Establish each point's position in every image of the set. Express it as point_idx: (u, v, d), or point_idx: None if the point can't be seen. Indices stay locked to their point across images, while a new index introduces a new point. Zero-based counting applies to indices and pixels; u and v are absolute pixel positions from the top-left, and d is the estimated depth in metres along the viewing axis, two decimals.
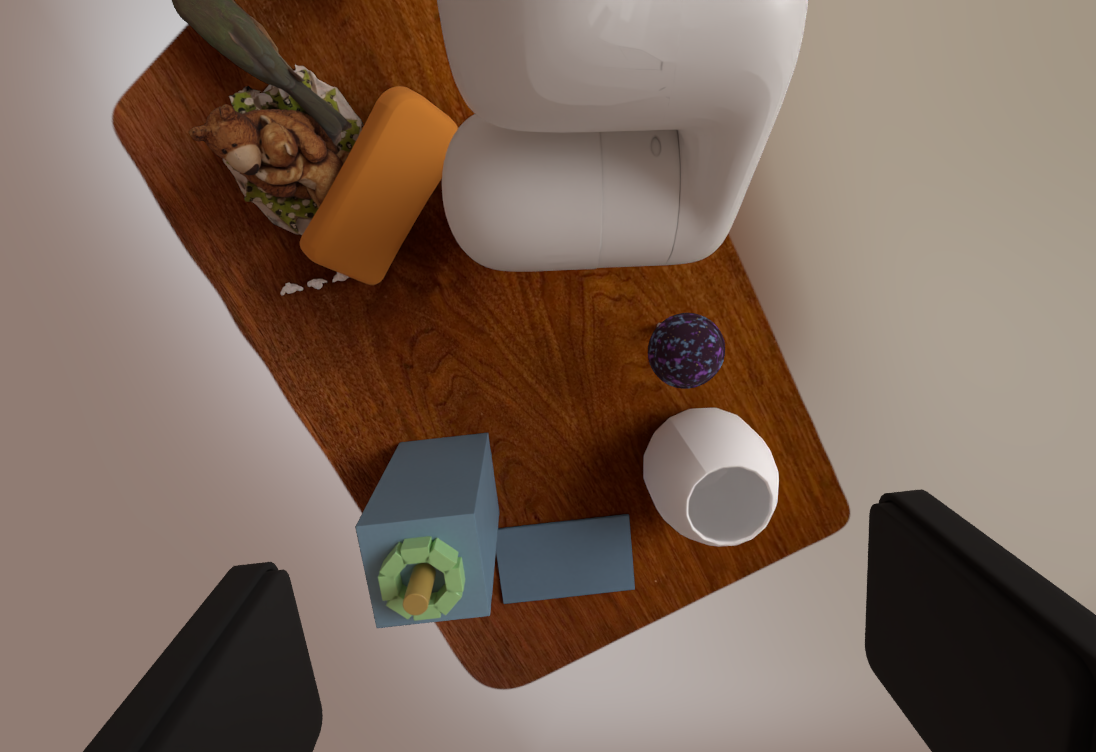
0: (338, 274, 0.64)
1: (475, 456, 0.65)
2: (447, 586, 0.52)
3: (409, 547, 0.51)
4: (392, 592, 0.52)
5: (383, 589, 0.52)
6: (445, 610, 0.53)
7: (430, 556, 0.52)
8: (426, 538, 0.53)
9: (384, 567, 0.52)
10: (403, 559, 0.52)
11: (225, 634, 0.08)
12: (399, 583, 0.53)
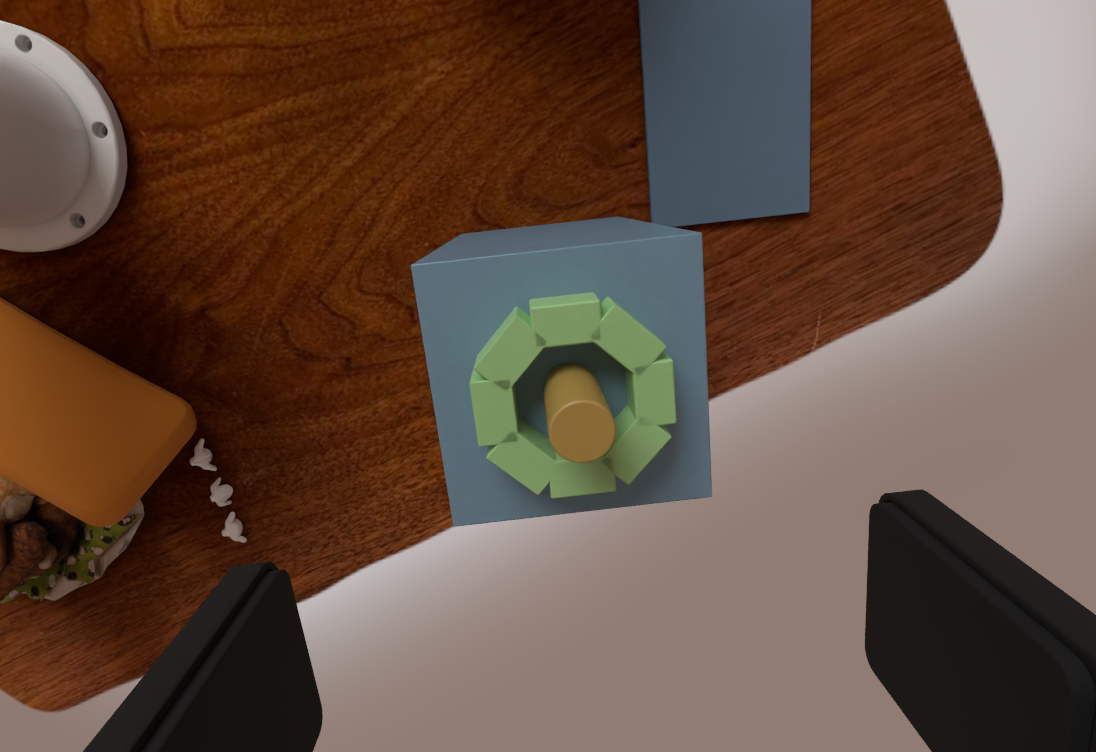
0: (194, 463, 0.42)
1: None
2: (581, 339, 0.21)
3: (475, 424, 0.21)
4: (593, 468, 0.22)
5: (584, 488, 0.22)
6: (651, 347, 0.21)
7: (495, 378, 0.21)
8: None
9: (525, 483, 0.22)
10: (504, 440, 0.21)
11: (225, 634, 0.08)
12: None
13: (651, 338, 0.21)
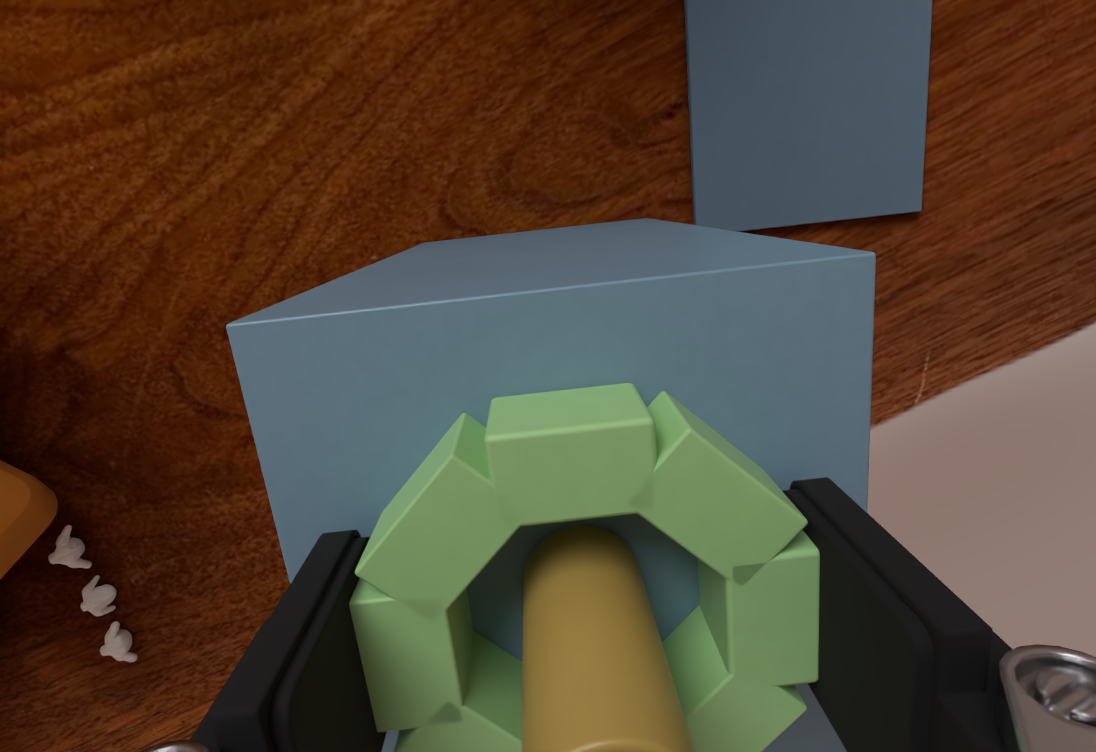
0: (54, 561, 0.30)
1: None
2: (609, 509, 0.09)
3: (368, 682, 0.10)
4: None
5: None
6: (773, 524, 0.09)
7: (406, 593, 0.09)
8: None
9: None
10: (432, 719, 0.09)
11: (330, 590, 0.09)
12: None
13: (774, 505, 0.09)
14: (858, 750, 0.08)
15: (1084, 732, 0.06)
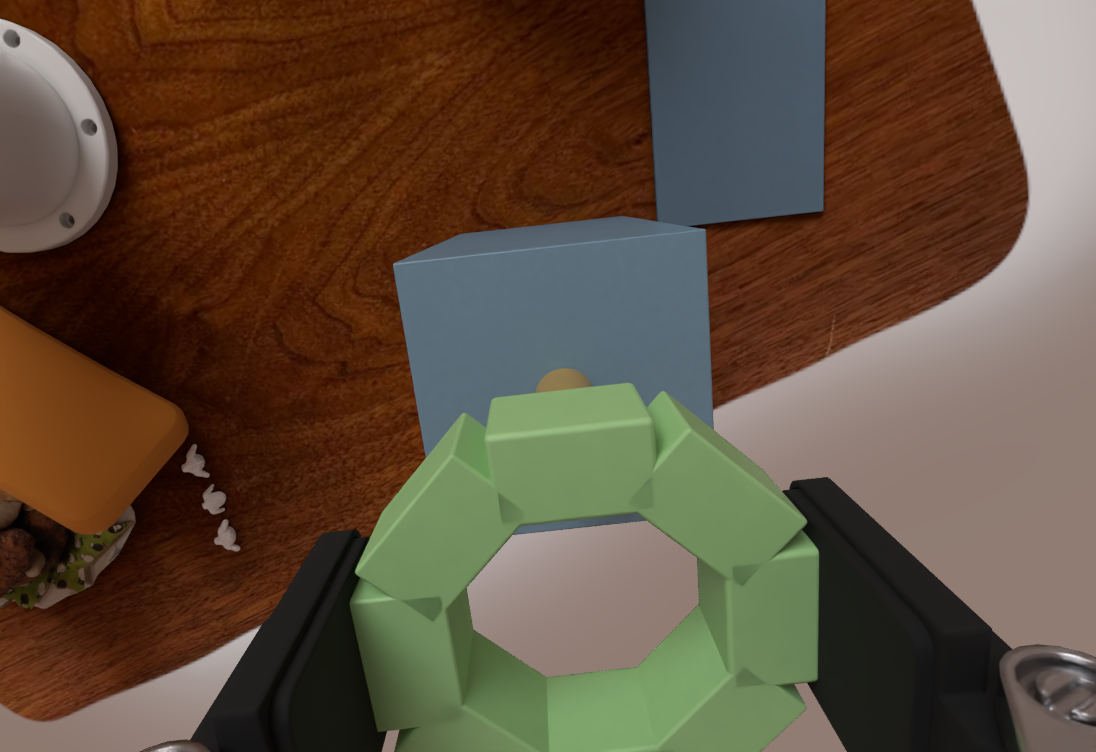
0: (185, 469, 0.40)
1: None
2: (609, 508, 0.09)
3: (368, 682, 0.10)
4: None
5: None
6: (773, 523, 0.09)
7: (406, 593, 0.09)
8: None
9: None
10: (432, 718, 0.10)
11: (330, 590, 0.09)
12: (614, 702, 0.11)
13: (773, 504, 0.09)
14: (858, 750, 0.08)
15: (1084, 731, 0.06)
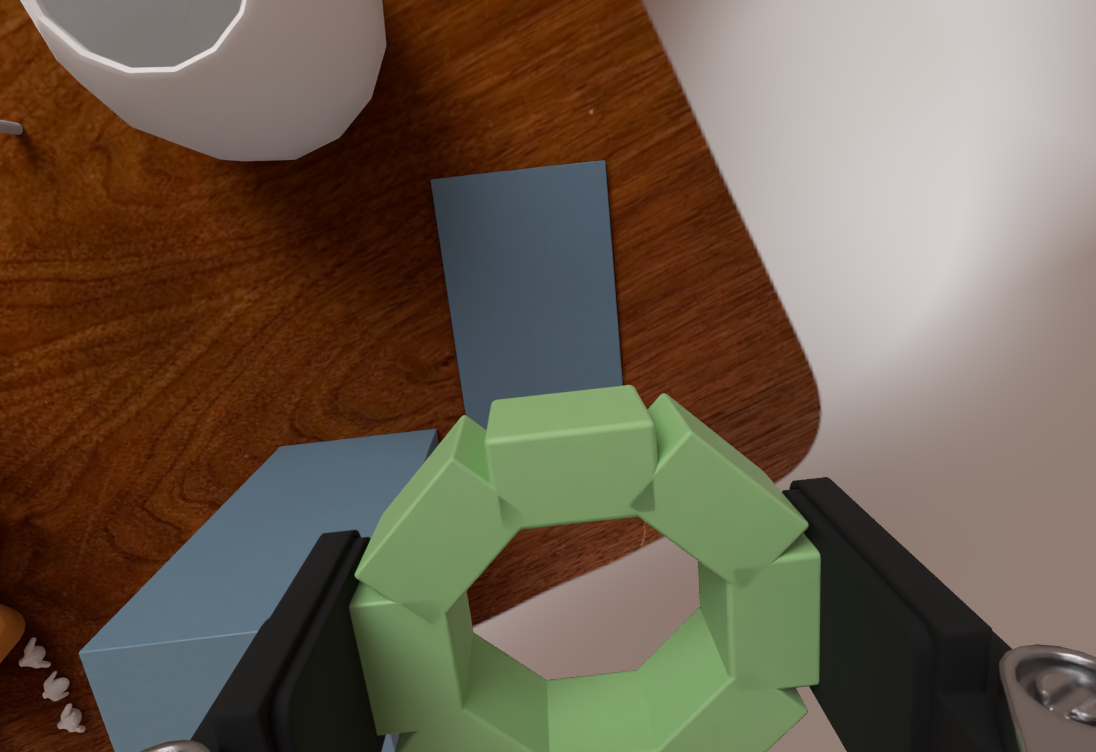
0: (23, 665, 0.42)
1: None
2: (609, 512, 0.09)
3: (368, 686, 0.09)
4: None
5: None
6: (774, 526, 0.09)
7: (406, 596, 0.09)
8: None
9: None
10: (432, 723, 0.09)
11: (330, 590, 0.09)
12: (615, 705, 0.11)
13: (775, 508, 0.09)
14: (858, 750, 0.08)
15: (1084, 732, 0.06)
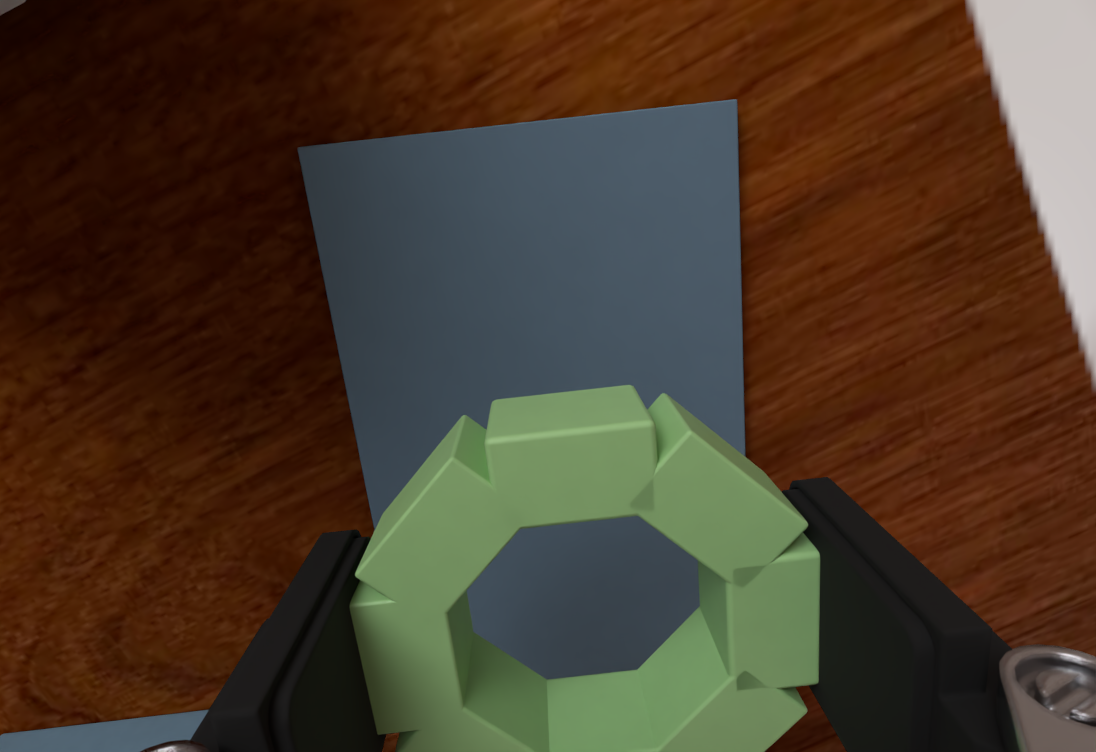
0: None
1: None
2: (609, 511, 0.09)
3: (368, 685, 0.10)
4: None
5: None
6: (774, 526, 0.09)
7: (406, 595, 0.09)
8: None
9: None
10: (432, 721, 0.09)
11: (329, 590, 0.09)
12: (615, 704, 0.11)
13: (774, 507, 0.09)
14: (858, 750, 0.08)
15: (1084, 731, 0.06)
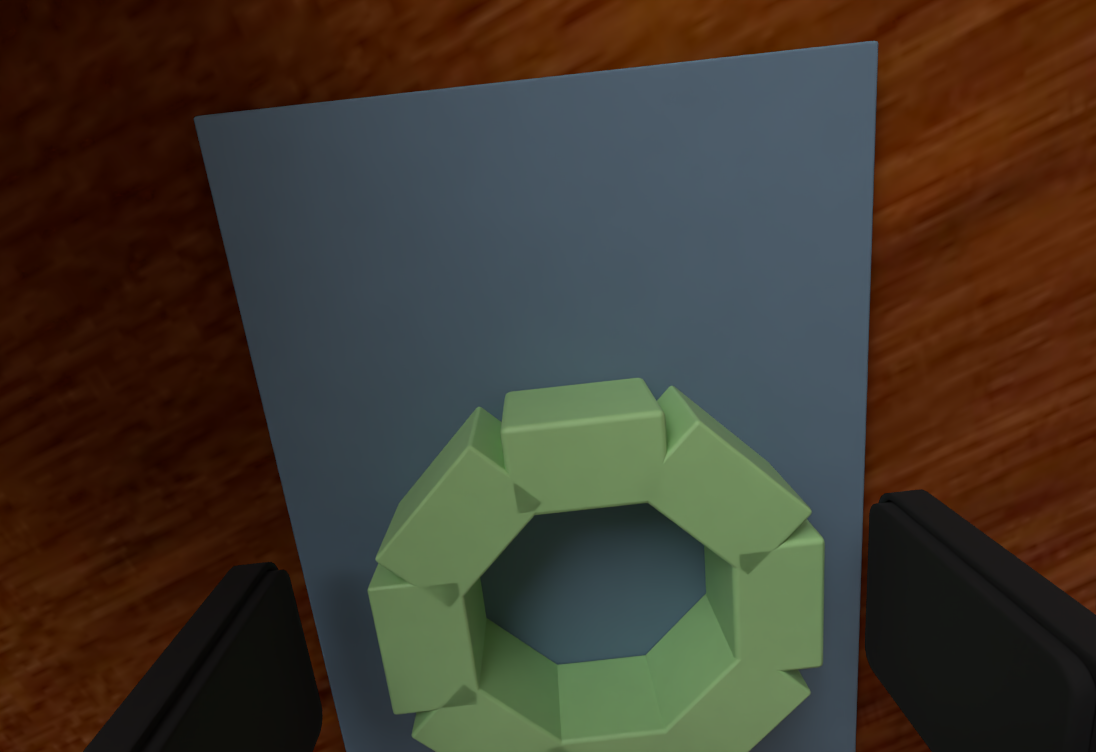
0: None
1: None
2: (620, 498, 0.09)
3: (387, 667, 0.10)
4: None
5: None
6: (779, 513, 0.09)
7: (425, 579, 0.09)
8: None
9: None
10: (448, 702, 0.10)
11: (225, 634, 0.08)
12: (624, 687, 0.11)
13: (779, 494, 0.09)
14: None
15: None
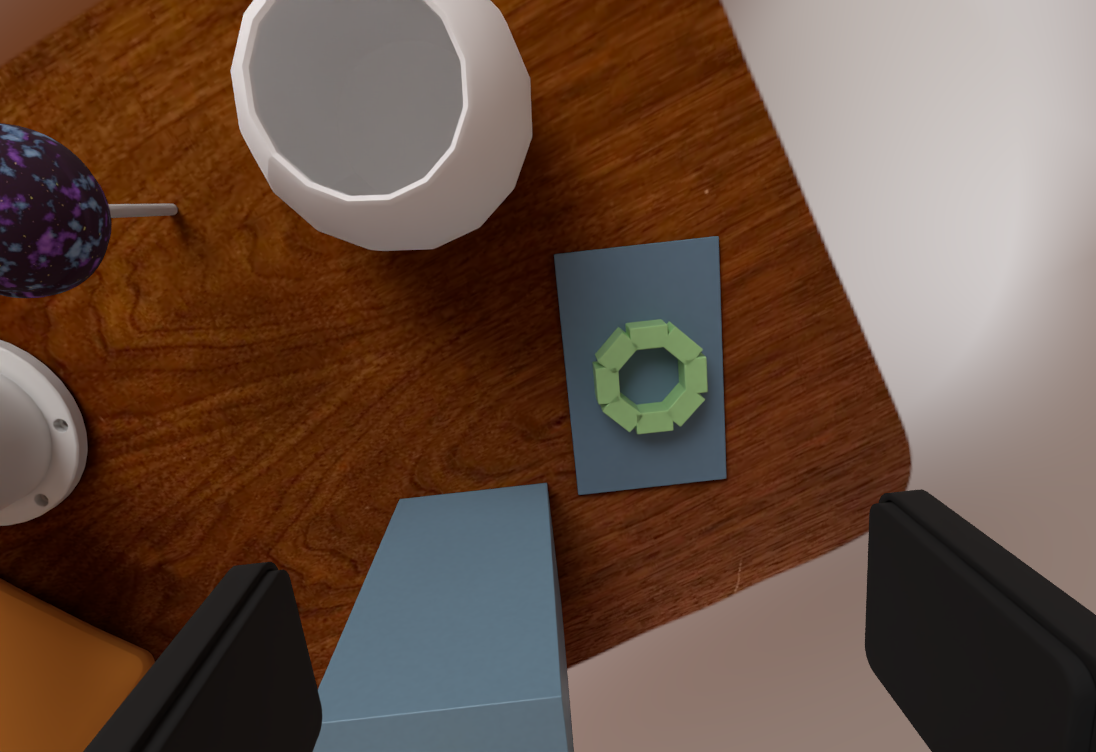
0: None
1: None
2: (657, 345, 0.38)
3: (597, 392, 0.39)
4: (661, 417, 0.39)
5: (656, 428, 0.39)
6: (694, 349, 0.38)
7: (609, 366, 0.38)
8: (593, 368, 0.40)
9: (623, 425, 0.39)
10: (612, 400, 0.39)
11: (225, 634, 0.08)
12: (656, 406, 0.40)
13: (694, 345, 0.38)
14: None
15: None
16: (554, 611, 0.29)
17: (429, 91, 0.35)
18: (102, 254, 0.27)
